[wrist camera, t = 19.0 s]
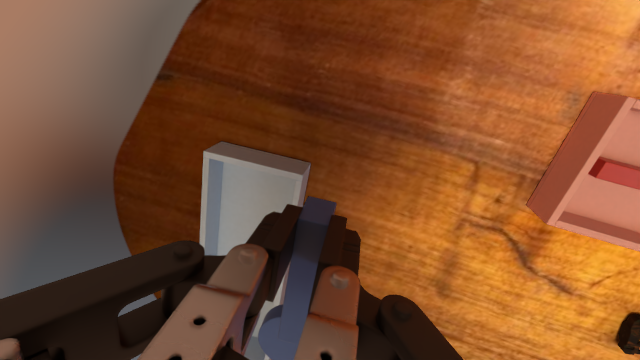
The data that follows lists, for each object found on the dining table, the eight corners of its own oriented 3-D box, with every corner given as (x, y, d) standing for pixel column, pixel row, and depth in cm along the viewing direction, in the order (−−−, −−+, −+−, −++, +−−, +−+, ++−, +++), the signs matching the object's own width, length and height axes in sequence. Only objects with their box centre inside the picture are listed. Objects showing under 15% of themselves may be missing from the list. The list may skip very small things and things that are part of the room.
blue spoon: (281, 189, 14) (267, 210, 12) (364, 208, 14) (362, 233, 12) (260, 343, 19) (246, 378, 17) (323, 361, 18) (316, 398, 16)
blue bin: (221, 141, 30) (203, 150, 27) (311, 162, 29) (303, 175, 26) (209, 323, 40) (195, 346, 36) (276, 342, 39) (267, 368, 36)
